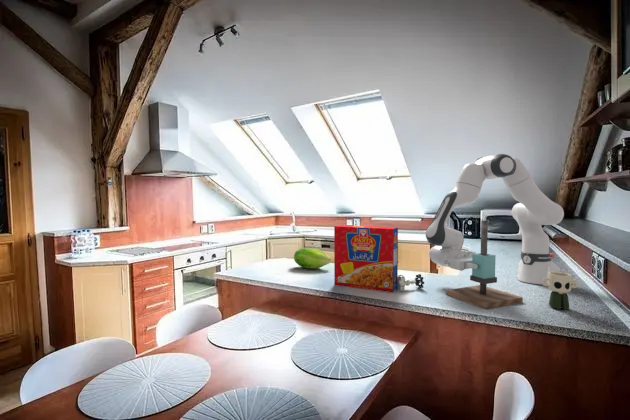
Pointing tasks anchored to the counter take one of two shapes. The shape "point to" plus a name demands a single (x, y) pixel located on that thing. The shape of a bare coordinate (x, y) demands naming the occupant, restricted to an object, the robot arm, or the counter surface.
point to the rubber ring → (483, 280)
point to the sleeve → (484, 265)
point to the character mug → (559, 288)
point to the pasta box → (366, 257)
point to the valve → (408, 282)
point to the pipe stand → (484, 286)
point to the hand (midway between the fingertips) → (485, 266)
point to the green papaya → (311, 258)
